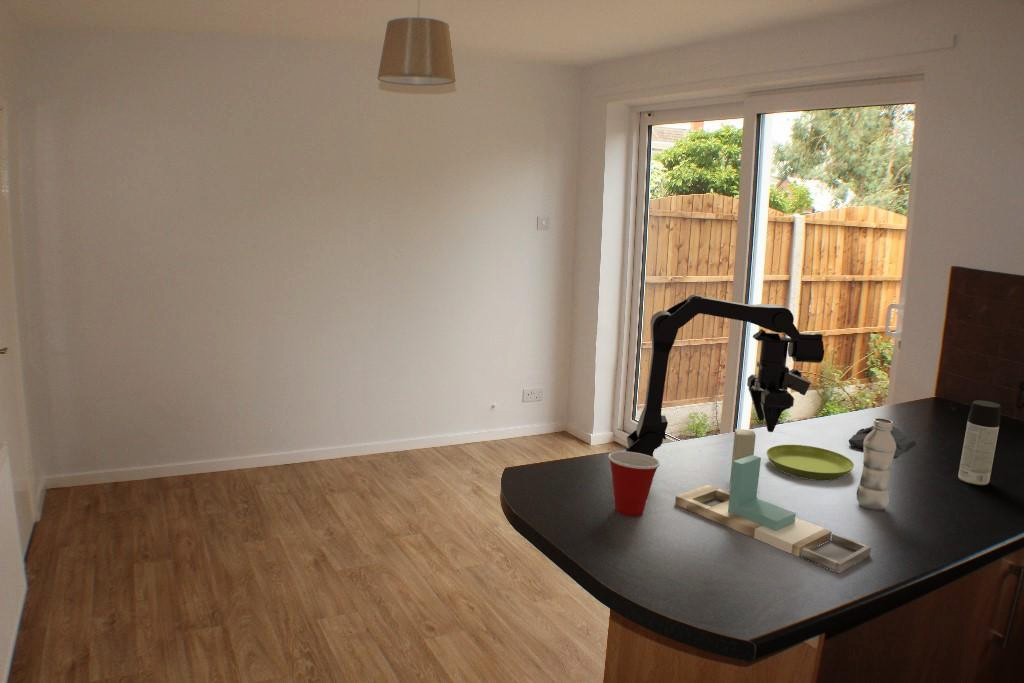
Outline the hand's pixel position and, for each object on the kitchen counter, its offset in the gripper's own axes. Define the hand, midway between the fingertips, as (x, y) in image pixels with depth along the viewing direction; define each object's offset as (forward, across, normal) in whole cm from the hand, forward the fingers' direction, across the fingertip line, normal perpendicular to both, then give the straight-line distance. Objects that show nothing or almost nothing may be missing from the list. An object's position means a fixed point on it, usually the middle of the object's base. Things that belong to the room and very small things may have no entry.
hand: (765, 425), depth 172 cm
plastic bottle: (+15, -8, -23) cm, 28 cm away
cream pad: (+15, -28, 0) cm, 32 cm away
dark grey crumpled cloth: (+15, +41, -43) cm, 61 cm away
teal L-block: (+13, -23, +5) cm, 27 cm away
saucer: (+15, +15, -16) cm, 26 cm away
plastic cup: (+15, -21, +31) cm, 41 cm away
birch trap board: (+15, -24, +4) cm, 29 cm away
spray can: (+15, +15, -56) cm, 60 cm away
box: (+15, 0, +4) cm, 16 cm away
